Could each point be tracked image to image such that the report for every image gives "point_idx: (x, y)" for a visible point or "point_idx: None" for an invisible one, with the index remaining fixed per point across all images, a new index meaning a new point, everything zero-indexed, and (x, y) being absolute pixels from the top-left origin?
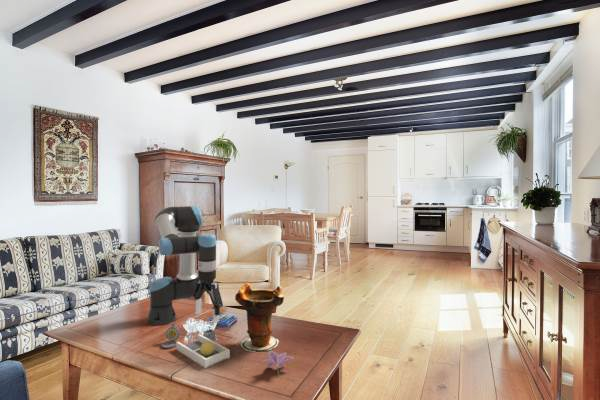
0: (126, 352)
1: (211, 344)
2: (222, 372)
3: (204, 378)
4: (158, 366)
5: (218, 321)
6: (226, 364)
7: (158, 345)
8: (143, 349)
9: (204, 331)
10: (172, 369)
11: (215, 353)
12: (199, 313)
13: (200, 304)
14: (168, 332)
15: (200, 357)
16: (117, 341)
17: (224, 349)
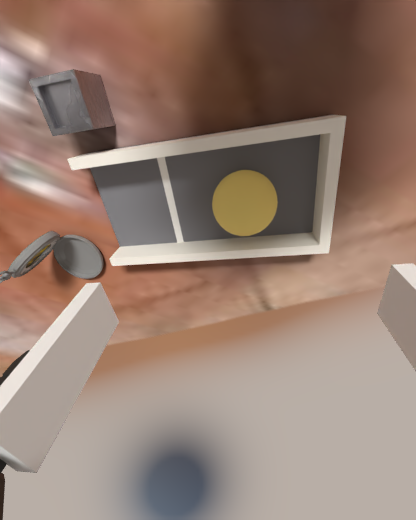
0: None
1: (267, 200)
2: (403, 205)
3: (372, 265)
4: (200, 316)
5: (411, 271)
6: (368, 160)
7: (66, 275)
8: None
9: (52, 130)
10: (243, 301)
11: (254, 158)
12: (107, 301)
13: (52, 367)
14: (28, 268)
15: (290, 254)
16: (5, 330)
17: (310, 135)
